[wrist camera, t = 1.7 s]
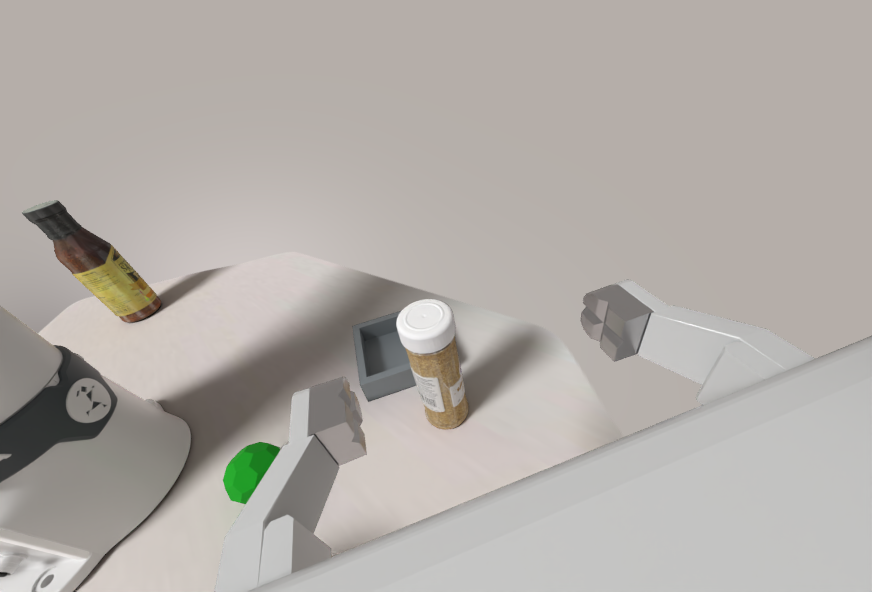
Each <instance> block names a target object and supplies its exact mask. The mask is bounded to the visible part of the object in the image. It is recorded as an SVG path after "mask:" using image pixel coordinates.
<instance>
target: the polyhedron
mask: <svg viewBox="0 0 872 592" xmlns="http://www.w3.org/2000/svg"><path fill="white" fill-rule="evenodd" d="M279 452H280V448H279V447H277V446H274V445H271V444H268V443H263V442H258V443H255V444H252V445H249V446H246V447H245V448H244V449H242V450H241V451H240V452H239V453H238V454H237V455H236V456H235V457H234V458H233V459H232V460H231V461H230V463H229V464H228V466H227V468H226V471H225V475H224V479H223V482H224V485H225V489H226V491H227V493H228V495H229V497H230V499H231V500H232V501H236V502H240V503H244V504H246V503H247V502H248V500H249V499H250V497H251V495H252V494H253V492H254V491H255V489H256V488H257V486H258V484H259V483H260V481H261V480H262V478H263V477H264V475H265V474H266V472H267V470H268V469H269V467H270V466H271V464H272V463H273V461H274V459H275V458H276V456H277V455H278V453H279Z"/></svg>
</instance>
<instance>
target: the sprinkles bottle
mask: <svg viewBox="0 0 872 592" xmlns="http://www.w3.org/2000/svg"><path fill="white" fill-rule="evenodd" d="M396 326H397V330H398V334H399V337H400V340H401V343H402V344H403V346H404V347H405V349H406V351H407V354H408V358H409V361H410V366H411V370H412V373H413V376H414V379H415V382H416V385H417V388H418V391H419V394H420V397H421V399H422V402H423V403H424V406H425V413H426V417H427V419H428V421H429V422H430V423H431V424H432V425H433V426H435V427H437V428H439V429H452V428H455V427H457V426H459V425H460V424H461V423H462V422H463V421H464V420H465V418H466V416H467V414H468V402H467V399H466V396H465V387H464V382H463V377H462V372H461V366H460V361H459V355H458V353H457V347H456V341H455V332H456V327H455V321H454V316H453V312H452V310H451V308H450V307H449V306H448V305H447V304H446V303H444V302H442V301H440V300H435V299H424V300H419V301H416V302H413V303H411V304H409V305H408V306H406V307H405V308H404V309H403V310H402V311H401V312H400V314H399V315H398V318H397V322H396Z"/></svg>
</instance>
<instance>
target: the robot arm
mask: <svg viewBox="0 0 872 592" xmlns="http://www.w3.org/2000/svg"><path fill="white" fill-rule="evenodd" d="M583 303H584V305H585V306H586V308H585V309H584V310H583V311H582V313H581V323H582V326H583V329H584V330H585V332H586V333H587V335H588V336H589V337H590V338H591V339H594V340H597V341H600V348H601V349H602V350H603V351H604V352H605V353H606V354H607V355H608V356H609V357H610V358H611V359H612V360H613V361H618V360H621V359H623V358H626V357H629V356H632V355H635V354H638V356H640V357H643V358H645V359H647V360H649V361H651V362H653V363H656V364H658V365H660V366H662V367H665V368H667V369H669V370H671V371H673V372H675V373H678V374H680V375H682V376H684V377H686V378H688V379H690V380H693V381H695V382H697V383H699V384H701V385H702V387H701V389H700V390H699V392H698V394H697V398H696V400H697V401H698V402H699V403H700V404H702V406H699V407H697V408H694V409H692V410H689V411H687V412H685V413H682V414H680V415H677V416H675V417H673V418H670V419H667V420H665V421H663V422H660V423H658V424H656V425H653V426H650V427H648V428H645V429H643V430H641V431H638V432H636V433H633V434H631V435H628V436H626V437H623V438H621V439H619V440H616V441H614V442H611V443H609V444H606V445H604V446H601V447H599V448H597V449H594V450H592V451H589V452H587V453H584V454H582V455H579V456H577V457H575V458H572V459H570V460H567V461H565V462H562V463H560V464H557V465H555V466H553V467H550V468H548V469H545V470H543V471H540V472H538V473H535V474H533V475H531V476H528V477H526V478H523V479H521V480H518V481H516V482H513V483H511V484H509V485H506V486H504V487H501V488H499V489H496V490H494V491H491V492H489V493H487V494H484V495H482V496H479V497H477V498H474V499H472V500H470V501H467V502H465V503H462V504H460V505H457V506H455V507H452V508H450V509H448V510H445V511H443V512H440V513H438V514H435V515H433V516H430V517H428V518H426V519H423V520H421V521H418V522H416V523H413V524H411V525H409V526H406V527H404V528H401V529H399V530H396V531H394V532H391V533H389V534H387V535H384V536H382V537H379V538H377V539H374V540H372V541H369V542H367V543H365V544H362V545H360V546H357V547H355V548H352V549H350V550H348V551H345V552H343V553H340V554H338V555H335V556H333V557H331V548H330V547H329V546H327V545H326V544H325V543H324V542H323V541H321V540H320V539H319V538H318V537H316V536H315V535H314V534H313V533H314V531H315V528H316V526H317V523H318V521H319V518H320V516H321V513H322V511H323V508H324V506H325V503H326V500H327V498H328V495H329V493H330V490H331V488H332V485H333V483H334V480H335V478H336V475H337V473H338V470H339V466H340V465H342V464H345V463H347V462H350V461H352V460H355V459H357V458H359V457H362V456H364V455H367V452H366V444H365V436H364V433H363V431H362V429H361V427H360V425H361V423H362V421H363V420H362V413H361V409H360V405H359V402H358V399H357V397H356V395H355V393H354V392H352V391H350V385H349V382H348V381H347V379H346V377H341V378H338V379H335V380H332V381H329V382H326V383H322V384H319V385H316V386H313V387H310V388H307V389H304V390H301V391H298V392H295V393H294V394H293V397H292V403H291V417H290V431H289V444H286V445H284V446H283V447H282V449H281V450H280V452H279V453H278V455H277V456H276V458H275V459H274V461H273V463H272V464H271V466H270V467H269V469H268V470H267V472H266V474H265V475H264V477H263V478H262V480H261V481H260V483H259V484H258V486H257V488H256V489H255V491H254V492H253V494H252V495H251V497H250V499H249V500H248V502H247V503H246V505H245V506H244V508H243V509H242V511H241V513H240V514H239V516H238V517H237V519H236V520H235V522H234V524H233V525H232V527H231V528H230V530H229V531H228V533H227V534H226V536H225V539H224V544H223V549H222V554H221V559H220V565H219V570H218V575H217V580H216V585H215V591H214V592H872V336H870V337H868V338H865V339H863V340H861V341H858V342H856V343H853V344H851V345H848V346H846V347H843V348H841V349H838V350H836V351H834V352H831V353H829V354H826V355H824V356H821V357H819V358H817V359H815V358H814V357H812V356H810V355H809V354H807V353H805V352H804V351H802V350H801V349H799V348H797V347H795V346H794V345H792V344H791V343H789V342H787V341H786V340H784V339H782V338H781V337H779V336H777V335H776V334H774V333H773V332H771V331H769V330H768V329H765V328H761V327H757V326H754V325H750V324H746V323H742V322H738V321H734V320H730V319H726V318H722V317H718V316H714V315H710V314H706V313H702V312H698V311H694V310H691V309H687V308H683V307H679V306H675V305H673V306H670V307H669V306H668V305H666V304H665V303H664V302H662V301H661V300H659V299H658V298H657V297H655V296H654V295H652V294H651V293H649V292H648V291H646V290H645V289H644V288H642V287H641V286H640V285H638V284H637V283H635V282H634V281H632V280H629V279H627V280H624V281H621V282H618V283H615V284H613V285H609V286H606V287H604V288H601V289H598V290H595V291H592V292H590V293H587V294H586V295H585V296H584V299H583ZM190 444H191V433H190V429H189V427H188V425H187V423H186V422H185V421H184V420H182V419H181V418H179V417H177V416H174V415H172V414H169V413H167V412H164V410H163V408H162V407H161V405H160V404H159V403H157V402H156V401H154V400H152V399H147V400H143V399H142V398H140V397H138V396H137V395H135V394H133V393H132V392H130V391H128V390H127V389H125V388H123V387H121V386H120V385H118V384H116V383H115V382H113V381H111V380H109V379H108V378H106V377H104V376H102V375H100V373H99V372H98V371H97V370H96V369H95V368H93V367H92V366H91V365H89V364H88V363H87V362H86V361H84V358H82V357H81V356H80V355H78V354H76V353H73V352H71V351H70V350H69V349H67V348H65V347H63V346H57V345H52V344H51V343H49V342H48V341H47V340H45V339H44V338H43V337H41V336H40V335H39V334H37V333H36V332H34V331H33V330H32V329H31V328H29V327H28V326H27V325H25V324H24V323H23V322H21V321H20V320H19V319H17V318H16V317H15V316H13V315H12V314H11V313H9V312H8V311H7V310H5V309H4V308H2V307H1V306H0V592H73V591H74V590H75V589H76V588H77V587H78V586H79V585H80V584H81V582H82V581H83V580H84V579H85V578H86V577H87V576H88V574H89V573H90V572H91V571H92V570H93V568H94V567H95V566H96V565H97V564H98V562H99V561H100V560H101V559H102V557H103V556H104V555H105V554H106V553H107V552H108V551H109V550H110V549H111V548H112V547H113V546H115V545H116V544H117V543H118V542H119V541H120V540H122V539H123V538H124V537H125V536H126V535H127V534H129V533H130V532H131V531H132V530H133V529H134V528H136V527H137V526H138V525H139V524H140V523H141V522H142V521H143V520H144V519H145V518H146V517H147V516H148V515H149V514H150V513H151V512H152V511H153V510H154V509H155V507H156V506H157V505H158V504H159V503H160V502H161V500H162V499H163V498H164V497H165V495H166V494H167V493H168V491H169V490H170V488H171V487H172V486H173V484H174V483H175V481H176V479H177V478H178V476H179V474H180V472H181V470H182V468H183V466H184V464H185V462H186V459H187V457H188V453H189V450H190Z"/></svg>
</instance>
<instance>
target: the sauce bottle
mask: <svg viewBox="0 0 872 592" xmlns="http://www.w3.org/2000/svg"><path fill="white" fill-rule="evenodd" d="M22 214H23V215H24V216H25V217H26V218H27V219H28V220H29V221H30V222H32V223H34V224H36V225H37V226H38V227H39V228H40V229H41V230H42V231H43V232H44V233H45V234H46V235H47V237H48V238H49V239H51V240H53V242H54V248H55V250H54V251H55V254H56V257H57V258H58V260H59V261H60V262H61V263H62V264H63V265H65V266H66V267H67V268H68V269H69V270H70V271H71V272H72V274H73V275H74V276H75V277H76V278H77V279H78V280H79V281H80V282H81V283H82V284H83V285H84V286H85V287H86V288H88V289H89V290H90V291H91V292H92V293H93V294H94V295H95V296H96V297H97V298H98V299H99V300H100V301H101V302H102V303H104V304H105V305H106V306H107V307H108V308H109V309H110V310H111V311H112V312H113V313H114V314H115V315H116V316H119V317H120V318H121V319H122V320H123V321H124V322H128V323H129V322H136V321H139V320H142V319H144V318H146V317H148V316H149V315H151V314H153V313H154V312H155V311H156V310H157V309H158V308H159V307H160V305H161V300H160V299H159V298H158V297H157V295H156V293H155V292H154V291H153V290H152V289H151V288H150V287H149V286H148V284H147V283H146V282H145V281H144V280H143V279H142V278H141V277H140V276H139V275H138V273H137V272H136V271H135V270H134V269H133V268H132V267H131V266H130V265H129V264H128V262H126V260H125V259H124V258H123V257H122V256H121V255H120V254H119V253H118V251H116V249H114V247H113V246H112V245H111V244H110V243H108V242H106V241H105V240H103V239H101V238H99V237H98V236H96V235H94V234H93V233H90V232H89V231H87V230H86V229H84V228H83V227H81V225H80V224H78V223H77V222H76V221H75V220H74V219H73V218H72V216H71V215H70V214H69V213H68V212H67V210H66V208H65V207H64V206H63V205H62V204H61V203H60V202H59V201H57V200H54V201H49V202H45V203H42V204H39V205H36V206H34V207H31V208H29V209H27V210H25V211H23V212H22Z"/></svg>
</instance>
